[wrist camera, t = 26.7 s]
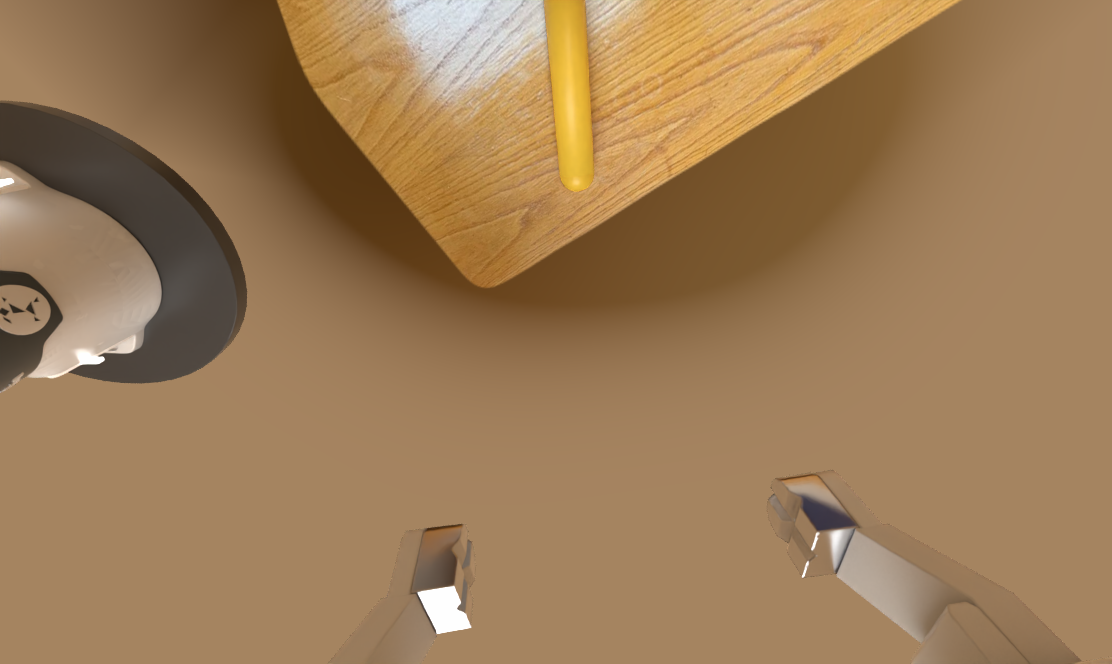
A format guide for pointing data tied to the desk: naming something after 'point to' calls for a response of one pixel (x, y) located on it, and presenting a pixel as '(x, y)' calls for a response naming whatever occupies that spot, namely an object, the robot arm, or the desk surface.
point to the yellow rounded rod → (570, 90)
